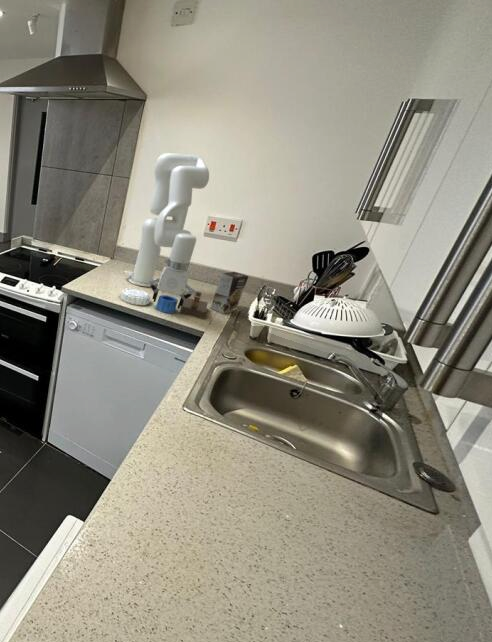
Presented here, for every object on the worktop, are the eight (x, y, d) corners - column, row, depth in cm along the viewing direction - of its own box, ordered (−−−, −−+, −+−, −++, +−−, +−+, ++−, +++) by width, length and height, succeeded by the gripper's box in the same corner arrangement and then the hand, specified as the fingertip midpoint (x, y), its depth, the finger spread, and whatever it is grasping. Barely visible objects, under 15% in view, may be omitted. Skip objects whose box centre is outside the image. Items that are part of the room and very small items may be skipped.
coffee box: (223, 314, 164) (236, 278, 157) (209, 307, 169) (221, 272, 163) (236, 311, 168) (249, 276, 162) (222, 305, 173) (234, 270, 167)
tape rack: (179, 312, 161) (184, 296, 158) (182, 303, 172) (187, 287, 169) (203, 319, 157) (209, 302, 154) (205, 308, 168) (211, 292, 165)
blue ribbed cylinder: (154, 309, 162) (157, 298, 160) (157, 304, 168) (160, 293, 166) (173, 314, 159) (176, 303, 157) (175, 309, 165) (178, 298, 163)
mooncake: (150, 299, 173) (152, 291, 172) (147, 307, 163) (149, 300, 162) (122, 292, 178) (124, 285, 177) (118, 300, 168) (119, 293, 167)
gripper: (153, 262, 157) (143, 301, 164) (201, 272, 149) (188, 313, 156) (156, 258, 163) (146, 296, 170) (202, 267, 155) (189, 307, 162)
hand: (166, 304), depth 163 cm, fingers open, 9 cm apart
